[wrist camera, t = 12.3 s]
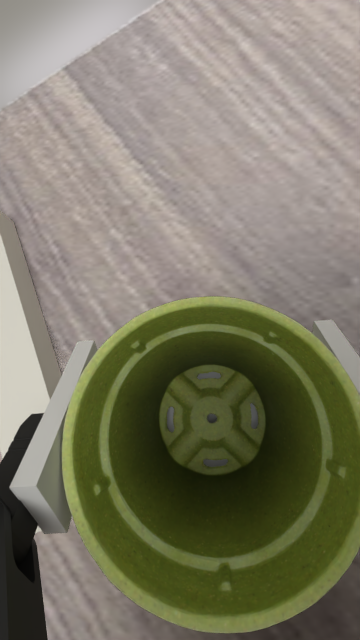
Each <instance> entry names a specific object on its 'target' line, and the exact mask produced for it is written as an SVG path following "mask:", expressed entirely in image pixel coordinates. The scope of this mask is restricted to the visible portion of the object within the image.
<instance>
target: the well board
mask: <svg viewBox="0 0 360 640" xmlns="http://www.w3.org/2000/svg"><path fill="white" fill-rule="evenodd" d="M61 376H62V375H61V371H60V368H59V365H58V362H57V359H56V355H55V352H54V349H53V346H52V343H51V339H50V336H49V333H48V330H47V327H46V323H45V320H44V317H43V314H42V311H41V307H40V304H39V301H38V298H37V295H36V291H35V288H34V285H33V282H32V279H31V276H30V272H29V269H28V266H27V263H26V260H25V256H24V253H23V250H22V247H21V244H20V240H19V237H18V234H17V231H16V228H15V224H14V222H13V221H12V220H11V219H9V218H8V217H7V216H6V215H5V214H4V213H2V212H1V211H0V451H1V455H2V459H3V458H4V456H5V454H6V452H8V448H9V446H10V444H11V442H12V441H14V437H15V435H16V433H17V431H18V429H19V427H20V425H21V424H22V423H23V422H24V421H25V420H26V419H27V418H28V417H29V416H30V415H31V414H38V413H44V412H45V410H46V408H47V406H48V404H49V402H50V399H51V397H52V395H53V393H54V391H55V389H56V387H57V385H58V382H59V380H60V378H61ZM71 518H73V517H71ZM40 531H42V530H41V529H40V528H39V526H37V529H36V532H35V533H38V532H40Z"/></svg>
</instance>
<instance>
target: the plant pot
mask: <svg viewBox="0 0 360 640" xmlns="http://www.w3.org/2000/svg"><path fill="white" fill-rule="evenodd" d="M209 372H216V373H220V375H221V377H220V378H219V379H217V378H205V379H198V378H197V377H198V375H199V374H200V373H201V374H204V373H209ZM251 403H252V404H253V405H254V406H255V408H256V411H257V414H258V425H257V427H256V429H252V427H251V418H252V417H251V416H252V415H251V407H250V404H251ZM170 407H173V408H174V413H173V425H174V432H171V431H169V429H168V427H167V412H168V409H169V408H170ZM209 414H214V415H216V417H217V420H216V422H214V423H210V422H208V420H207V417H208V415H209ZM205 459H206V460H223V459H227V460H228V462H227V464H226V465H224V466H216V467H210V466H206V465H205V464H204V462H203V460H205ZM62 473H63V481H64V488H65V494H66V498H67V502H68V505H69V509H70V512H71V514H72V517H73V520H74V522H75V525H76V528H77V530H78V533H79V534H80V536H81V538H82V541H83V543H84V545H85V546H86V548H87V550H88V551H89V553H90V554H91V556H92V557H93V559H94V560H95V561H96V563H97V564H98V566H99V567H100V569H101V570H102V572H103V573H104V574H105V575H106V577H107V578H108V580H109V581H110V582H111V583H112V584H114V585H115V586H116V587H117V588H118V589H119V590H120V591H121V592H122V593H123V594H124V595H126V596H127V597H128V598H129V599H130V600H132V601H133V602H134V603H136V604H137V605H139V606H140V607H141V608H143V609H145V610H147V611H148V612H150V613H152V614H154V615H156V616H158V617H159V618H162V619H164V620H166V621H169V622H172V623H174V624H176V625H179V626H181V627H184V628H188V629H192V630H195V631H200V632H209V633H245V632H251V631H255V630H260V629H264V628H268V627H270V626H273V625H275V624H278V623H280V622H283V621H285V620H287V619H289V618H291V617H294V616H295V615H297V614H299V613H300V612H302V611H304V610H306V609H308V608H309V607H310V606H312V605H313V604H315V603H316V602H317V601H318V600H319V599H320V598H321V597H322V596H324V595H325V594H326V593H327V592H328V591H329V590H330V589H331V588H332V587H333V586H334V585H335V584H336V583H337V582H338V581H339V579H340V578H341V576H342V575H343V574H344V573H345V572H346V570H347V569H348V568H349V566H350V565H351V563H352V561H353V560H354V558H355V556H356V554H357V553H358V551H359V549H360V394H359V393H358V391H357V389H356V387H355V385H354V384H353V382H352V380H351V379H350V377H349V375H348V374H347V372H346V371H345V369H344V368H343V366H342V365H341V363H340V362H339V360H338V359H337V358H336V357H335V356H334V354H333V353H332V352H331V351H330V350H329V349H328V348H327V347H326V346H325V344H323V343H322V342H321V341H320V340H319V339H318V338H317V337H316V336H315V335H314V334H312V333H311V332H310V331H309V330H307V329H306V328H305V327H303V326H302V325H300V324H299V323H298V322H296V321H294V320H293V319H291V318H289V317H287V316H286V315H284V314H282V313H280V312H277V311H275V310H273V309H271V308H268V307H266V306H263V305H261V304H257V303H254V302H251V301H247V300H243V299H238V298H231V297H221V296H208V297H195V298H186V299H181V300H177V301H173V302H170V303H167V304H164V305H161V306H158V307H155V308H153V309H151V310H148V311H146V312H144V313H142V314H140V315H138V316H137V317H135V318H133V319H132V320H130V321H129V322H128V323H127V324H125V325H124V326H123V327H121V328H120V329H119V330H117V331H116V332H115V333H114V334H113V335H112V336H111V337H110V338H109V339H108V340H106V341H105V343H104V344H103V345H102V346H101V347H100V348H99V349H98V350H97V352H96V353H95V354H94V356H93V357H92V359H91V360H90V362H89V363H88V364H87V366H86V367H85V369H84V370H83V372H82V374H81V376H80V378H79V380H78V382H77V384H76V386H75V389H74V391H73V394H72V397H71V399H70V402H69V406H68V409H67V413H66V418H65V422H64V429H63V440H62Z"/></svg>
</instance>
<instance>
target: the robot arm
mask: <svg viewBox="0 0 360 640" xmlns="http://www.w3.org/2000/svg"><path fill="white" fill-rule="evenodd" d="M312 334H314V335H315V336H316V337H317V338H318V339H319V340H320V341H321V342H322V343H323V344H325V346H326V347H327V348H328V349H329V350H330V351H331V352H332V353H333V354H334V356H335V357H336V358H337V359H338V360H339V362H340V363H341V365H342V366H343V368H344V369H345V371H346V372H347V374H348V375H349V377H350V379H351V380H352V382H353V384H354V385H355V387H356V389H357V391H358V393H359V394H360V357H359V355H358V354H357V353H356V351H355V350H354V349H353V347H352V346H351V344H350V343H349V342H348V340H347V339H346V338H345V336H344V335H343V334H342V332H341V331H340V329H339V328H338V327H337V325H336V324H335V323H334V321H333V320H321V321H314V324H313V331H312ZM96 352H97V347H96V344H95V341H94V340H90V341H79V342H77V344H76V346H75V348H74V350H73V353H72V355H71V357H70V359H69V361H68V363H67V365H66V367H65V370H64V372H63V374H62V376H61V378H60V380H59V382H58V385H57V387H56V389H55V391H54V393H53V395H52V397H51V399H50V402H49V404H48V406H47V408H46V410H45V412H44V413H38V414H31V415H30V416H29V417H28V418H27V419H26V420H25V421H24V422H23V423H22V424H21V425H20V427H19V429H18V431H17V433H16V435H15V437H14V441H12V442H11V444H10V446H9V448H8V452H6V454H5V456H4V458H3V460H2V461H1V463H0V640H48V639H47V630H46V622H45V613H44V604H43V596H42V587H41V578H40V570H39V561H38V552H37V545H36V542H35V540H34V535H35V532H36V529H37V526H39V528H40V529H41V530H42V532H43V533H44V534H50V533H67V531H68V528H69V524H70V521H71V517H72V514H71V512H70V509H69V505H68V502H67V498H66V494H65V488H64V481H63V473H62V440H63V429H64V422H65V418H66V413H67V409H68V406H69V402H70V399H71V397H72V394H73V391H74V389H75V386H76V384H77V382H78V380H79V378H80V376H81V374H82V372H83V370H84V369H85V367H86V366H87V364H88V363H89V362H90V360H91V359H92V357H93V356H94V354H95V353H96Z"/></svg>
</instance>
